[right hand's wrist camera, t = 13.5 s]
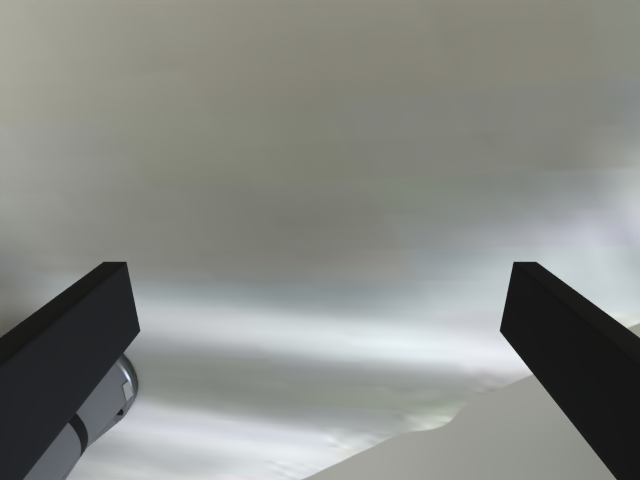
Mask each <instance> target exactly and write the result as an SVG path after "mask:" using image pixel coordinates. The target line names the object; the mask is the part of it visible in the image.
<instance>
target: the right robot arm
mask: <svg viewBox="0 0 640 480" xmlns="http://www.w3.org/2000/svg"><path fill="white" fill-rule="evenodd" d="M139 332H140V327H139V322H138V317H137V312H136V307H135V302H134V297H133V292H132V288H131V283H130V278H129V273H128V268H127V263H126V262H103V263H102V264H100V265H99V266H97V267H96V268H95V269H93V270H92V271H91V272H89V273H88V274H87V275H85V276H84V277H82V278H81V279H80V280H78V281H77V282H76V283H74V284H73V285H72V286H70V287H69V288H68V289H66V290H65V291H63V292H62V293H61V294H59V295H58V296H57V297H55V298H54V299H53V300H51V301H50V302H48V303H47V304H46V305H44V306H43V307H42V308H40V309H39V310H38V311H36V312H35V313H33V314H32V315H31V316H29V317H28V318H27V319H25V320H24V321H23V322H21V323H20V324H19V325H17V326H16V327H14V328H13V329H12V330H10V331H9V332H8V333H6V334H5V335H4V336H2V337H1V338H0V480H66V478H67V477H68V475H69V474H70V472H71V471H72V469H73V468H74V466H75V465H76V463H77V461H78V460H79V458H80V457H81V456H82V454H83V453H84V451H85V450H86V448H87V447H88V446H90V445H91V444H92V443H93V442H95V441H96V440H97V439H98V438H99V437H101V436H102V435H103V434H104V433H105V432H107V431H108V430H109V429H110V428H112V427H113V426H114V425H115V424H116V423H118V422H119V421H120V420H121V419H122V418H123V417H124V416H125V415H126V413H127V412H128V410H129V409H130V407H131V405H132V404H133V402H134V400H135V398H136V395H137V389H138V384H137V378H136V375H135V372H134V370H133V368H132V366H131V364H130V363H129V361H128V360H127V359H126V358H125V357H124V356H123V352H124V351H125V350H126V349H127V347H128V346H129V345H130V343H131V342H132V341H133V340H134V338H135V337H136V336H137V335H138V333H139ZM500 332H501V333H502V335H503V336H504V337H505V338H506V340H507V341H508V342H509V343H510V345H511V346H512V347H513V349H514V350H515V351H516V352H517V354H518V355H519V356H520V357H521V359H522V360H523V361H524V362H525V364H526V365H527V366H528V368H529V369H530V370H531V371H532V373H533V374H534V375H535V376H536V378H537V379H538V380H539V382H540V383H541V384H542V385H543V387H544V388H545V389H546V390H547V392H548V393H549V394H550V395H551V397H552V398H553V399H554V401H555V402H556V403H557V404H558V406H559V407H560V408H561V409H562V411H563V412H564V413H565V414H566V416H567V417H568V418H569V420H570V421H571V422H572V423H573V425H574V426H575V427H576V428H577V430H578V431H579V432H580V434H581V435H582V436H583V437H584V439H585V440H586V441H587V442H588V444H589V445H590V446H591V447H592V449H593V450H594V451H595V453H596V454H597V455H598V456H599V458H600V459H601V460H602V461H603V463H604V464H605V465H606V467H607V468H608V469H609V470H610V472H611V473H612V474H613V475H614V477H615V478H616V479H617V480H640V338H639V337H638V336H636V335H635V334H634V333H632V332H631V331H630V330H628V329H627V328H626V327H624V326H623V325H621V324H620V323H619V322H617V321H616V320H615V319H613V318H612V317H611V316H609V315H608V314H607V313H605V312H604V311H602V310H601V309H600V308H598V307H597V306H596V305H594V304H593V303H592V302H590V301H589V300H587V299H586V298H585V297H583V296H582V295H581V294H579V293H578V292H577V291H575V290H574V289H572V288H571V287H570V286H568V285H567V284H566V283H564V282H563V281H562V280H560V279H559V278H558V277H556V276H555V275H553V274H552V273H551V272H549V271H548V270H547V269H545V268H544V267H543V266H541V265H540V264H538V263H537V262H514V263H513V268H512V273H511V278H510V283H509V288H508V292H507V297H506V302H505V307H504V312H503V317H502V322H501V327H500Z"/></svg>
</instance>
